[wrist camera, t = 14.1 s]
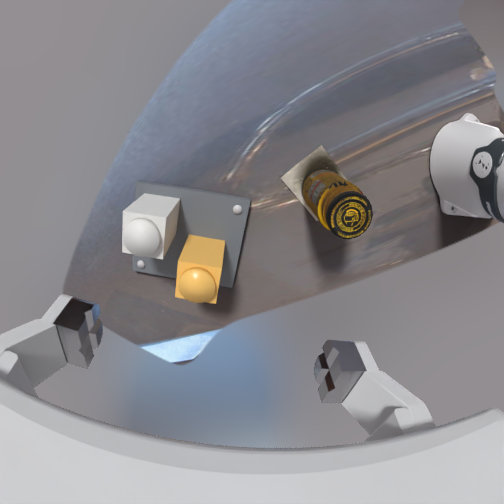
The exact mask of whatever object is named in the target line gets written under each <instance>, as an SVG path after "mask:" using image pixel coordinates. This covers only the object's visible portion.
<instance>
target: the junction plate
mask: <svg viewBox="0 0 504 504" xmlns="http://www.w3.org/2000/svg"><path fill="white" fill-rule="evenodd" d="M250 201H251V200H250V198H247V197H241V196H236V195H230V194H224V193H219V192H213V191H207V190H201V189H194V188H188V187H181V186H175V185H168V184H161V183H154V182H147V181H137V182H136V190H135V202H133V203H132V204H131V205H130V206H129V207H127V208H126V209H125V210H124V211H123V236H122V252H124V253H130V254H132V270H133V271H138V272H144V273H149V274H154V275H160V276H165V277H171V278H176V279H177V267H178V260H179V257H180V255H181V252H182V250H183V248H184V245H185V243H186V240H187V238H188V236H189V235H195V236H201V237H206V238H212V239H218V240H224V241H225V246H224V255H223V263H222V271H221V276H220V282H219V286H223V287H229V288H232V287H233V282H234V277H235V272H236V268H237V263H238V258H239V253H240V248H241V244H242V239H243V234H244V229H245V225H246V220H247V215H248V210H249V206H250Z"/></svg>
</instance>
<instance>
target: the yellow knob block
mask: <svg viewBox="0 0 504 504" xmlns="http://www.w3.org/2000/svg"><path fill="white" fill-rule="evenodd" d="M224 246H225V241H224V240H218V239H212V238H206V237H201V236H195V235H189V236H188V238H187V240H186V243H185V245H184V248H183V250H182V252H181V255H180V257H179V260H178V267H177V279H176V292H175V297H178V298H184V299H187V300H188V301H191V302H194V303H202V302H207V303H214V304H216V300H217V294H218V288H219V282H220V276H221V271H222V263H223V255H224Z"/></svg>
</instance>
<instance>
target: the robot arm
mask: <svg viewBox="0 0 504 504" xmlns="http://www.w3.org/2000/svg"><path fill="white" fill-rule="evenodd" d="M430 171H431V177H432V180H433V183H434V186H435V188H436V190H437V192H438V194H439V197H440V205H441V210H442V212H443V213H445V214H449V215H460V216H470V217H480V218H492V217H493V218H494V219H496V220H498V221H500V222H502V223H504V135H503V134H502V133H501V132H500V131H499V129H498V128H496V127H493V126H489V125H486V124H482V123H480V122H479V120H478V119H477V118H476V117H475V116H474V115H473V114H470V113H466V114H465V115H464V116H463V117H462V118H461V119H460V120H458V121H455V122H451V123H449V124H447V125H445V126H444V127H443V128H442V129H441V130H440V131H439V133H438V134H437V136H436V138H435V140H434V143H433V146H432V150H431V156H430ZM451 208H452V209H451ZM100 313H101V312H100V306H99V305H98V304H97V303H93V302H90V301H86V300H83V299H79V298H76V297H72V296H68V295H65V294H62V295H60V296H59V297H58V299H57V300H56V301H55V302H54V303H53V305H52V306H51V307H50V309H49V310H48V311H47V312H46V314H45V315H44V316H43V318H42V319H41V320H40V319H36V320H33V321H31V322H29V323H26V324H24V325H22V326H20V327H18V328H15V329H13V330H10V331H8V332H6V333H3V334H1V335H0V504H504V413H503V412H502V411H500V410H498V409H497V408H489V409H486V410H484V411H481V412H479V413H476V414H473V415H471V416H468V417H465V418H462V419H459V420H456V421H453V422H450V423H447V424H444V425H440V426H437V427H436V426H435V424H434V421H433V420H432V417H431V415H430V413H429V411H428V409H427V407H426V405H425V403H423V402H422V401H421V400H420V399H418V398H417V397H416V396H414V395H413V394H412V393H410V392H409V391H408V390H406V389H405V388H404V387H403V386H401V385H400V384H399V383H397V382H396V381H394V380H393V379H392V378H391V377H389V376H388V375H387V374H386V373H384V372H383V371H379V369H378V367H377V365H376V363H375V361H374V359H373V357H372V355H371V353H370V351H369V348H368V346H367V344H366V343H365V342H364V341H338V340H327V341H326V342H325V344H324V345H323V347H322V348H323V351H324V353H322V354H320V355H319V356H318V358H317V360H316V362H315V367H314V375H315V379H316V381H318V382H319V383H320V384H321V385H320V387H319V388H318V390H319V394H320V398H321V402H322V403H342V405H343V406H344V407H345V408H346V409H347V410H348V411H349V412H350V414H351V415H352V416H353V417H354V418H355V419H356V420H357V421H358V422H359V424H360V425H361V426H362V427H363V428H364V429H365V430H366V431H367V432H368V433H369V435H370V436H369V437H368V438H367V439H366V440H365V441H364V442H361V443H355V444H346V445H336V446H326V447H325V446H324V447H310V448H309V447H308V448H249V447H233V446H222V445H212V444H204V443H196V442H189V441H182V440H176V439H171V438H165V437H160V436H155V435H151V434H146V433H142V432H138V431H133V430H130V429H125V428H122V427H118V426H115V425H111V424H108V423H105V422H101V421H98V420H95V419H92V418H89V417H86V416H83V415H80V414H78V413H75V412H72V411H70V410H67V409H64V408H62V407H59V406H57V405H54V404H52V403H50V402H47V401H45V400H43V399H41V398H39V397H38V395H37V393H36V392H35V390H34V387H36V386H37V385H38V384H40V383H41V382H43V381H44V380H45V379H47V378H48V377H50V376H51V375H53V374H54V373H55V372H57V371H58V370H60V369H61V368H63V367H64V366H65V365H67V363H69V364H73V365H76V366H79V367H83V368H86V369H87V368H88V367H89V364H90V363H91V361H92V359H93V357H94V354H93V350H94V349H96V348H98V346H99V344H100V342H101V338H102V334H103V327H102V322H101V321H100V320H99V318H98V317H99V315H100Z"/></svg>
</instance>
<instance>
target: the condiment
mask: <svg viewBox="0 0 504 504" xmlns="http://www.w3.org/2000/svg"><path fill="white" fill-rule="evenodd" d="M327 167H328V168H327ZM301 177H302V180H301ZM281 179H282V180H283V182H284V183H285V184H286V185H287V186H288V187H289V189H290V190H291V191H292V192H293V193H294V194H295V196H296V197H297V198H298V199H299V200H300V202H301V203H302V204H303V205H304V206H305V208H306V209H307V210H308V211H309V213H310V214H311V215H312V216H313V217H314V219H315V220H316V221H317V222H318V221H320V222H321V223H322V225H323V226H324V227H325V228H327V229H328V230H331V231H332V232H333V233H334V234H335V235H337V236H339V237H342V238H343V239H352V238H356V237H358V236H360V235H361V234H362V233H364V232H365V231H366V230H367V228H368V227H369V225H370V223H371V220H372V216H373V213H372V206H371V204H370V202H369V200H368V199H367V197H366V196H364V195H363V193H362V192H361V191H360V189H359V188H358V187H357V186H356V185H354V184H352V183H351V182H349V181H347V179H346V178H345V176H344V175H343V174H342V172H341V171H340V169H339V168H338V167H337V165H336V164H335V163H334V161H333V160H332V159H331V157H330V156H329V155H328V153H327V152H326V151H325V149H324V148H323V147H322V145H321V146H320V147H318V148H317V149H316V150H314V151H313V152H312V153H311V154H309V155H308V156H307V157H306V158H304V159H303V160H302V161H301V162H299V163H298V164H297V165H296V166H295V167H293V168H292V169H291V170H290V171H288V172H287V173H286V174H285V175H284V176H282V177H281ZM301 181H302V183H301Z"/></svg>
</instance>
